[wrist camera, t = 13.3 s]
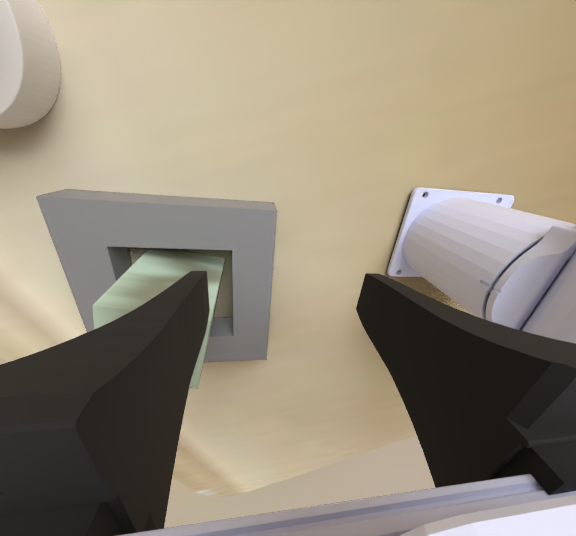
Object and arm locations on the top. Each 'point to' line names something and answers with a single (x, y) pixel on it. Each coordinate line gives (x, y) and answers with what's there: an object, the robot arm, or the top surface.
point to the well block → (169, 234)
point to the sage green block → (159, 288)
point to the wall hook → (26, 64)
